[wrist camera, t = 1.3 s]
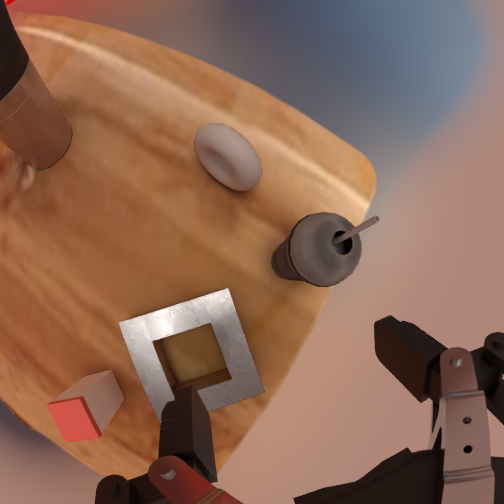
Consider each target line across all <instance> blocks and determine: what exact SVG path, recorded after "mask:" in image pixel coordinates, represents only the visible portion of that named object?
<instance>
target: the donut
mask: <svg viewBox="0 0 504 504" xmlns="http://www.w3.org/2000/svg"><path fill="white" fill-rule="evenodd" d="M194 148H195V152H196V154H197V156H198V158H199V160H200V162H201V163H202V165H203V166H204V167H205V168H206V170H207V171H208V172H209V173H210V174H211V175H212V176H213V177H214V178H215V179H217V180H218V181H219V182H221V183H222V184H224V185H226V186H227V187H229V188H231V189H234V190H237V191H248V190H251V189H252V188H254V187H255V186H256V185H257V184H258V183H259V182H260V180H261V175H262V165H261V161H260V158H259V156H258V154H257V152H256V150H255V149H254V148H253V146H252V145H251V144H250V142H249V141H248V140H247V139H246V138H245V137H243V136H242V135H241V134H240V133H239V132H237V131H236V130H234V129H233V128H231V127H229V126H226V125H224V124H220V123H209V124H207V125H205V126H203V127H201V128H200V129H199V130H198V131H197V133H196V135H195V138H194Z"/></svg>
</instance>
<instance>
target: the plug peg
mask: <svg viewBox="0 0 504 504" xmlns="http://www.w3.org/2000/svg"><path fill="white" fill-rule="evenodd" d="M123 401H124V397H123V394H122V392H121V390H120V388H119V385H118V383H117V381H116V378H115V376H114V373H113V371H112V370H108V371H104V372H100V373H96V374H92V375H87V376H85V377H83V378H82V379H81V380H79V381H78V382H77V383H75V384H74V385H73V386H71V387H70V388H69V389H67V390H66V391H65V392H63V393H62V394H61V395H59V396H58V397H57V398H55V399H54V400H53V401H51V402H50V403H49V404H47V406H48V408H49V410H50V412H51V415H52V417H53V419H54V421H55V423H56V425H57V426H58V428H59V430H60V432H61V434H62V436H63V438H64V439H65V441H66V442H73V441H82V440H89V439H97V438H100V436H101V435H102V433H103V432H104V430H105V429H106V427H107V425H108V424H109V422H110V421H111V419H112V418H113V416H114V415H115V413H116V411H117V410H118V408H119V407H120V405H121V404H122V402H123Z"/></svg>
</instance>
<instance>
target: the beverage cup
mask: <svg viewBox="0 0 504 504" xmlns="http://www.w3.org/2000/svg"><path fill="white" fill-rule="evenodd" d="M379 220H380V219H379V217H378V216H376V215H375V216H374V217H372V218H370V219H369V220H367V221H365V222H363V223H362V224H360V225H358V226H356V227H354V225H352V224H351V223H350V222H349V221H348V220H347V219H346V218H344V217H342V216H340V215H338V214H335V213H327V212H322V213H316V214H311V215H307V216H306V217H304V218H303V219H301V220H300V221H298V223H297V224H296V225H295V227H294V228H293V229H292V231H291V234H290V236H289V237H288V238H287V239H286V240H285V241H284V242H283V243H282V244H281V245H280V246H279V247H278V248H277V249H276V251H275V252H274V253H273V256H272V263H271V264H272V267H273V270H274V271H275V273H276V274H277V275H278V276H280V277H282V278H285V279H288V280H297V281H306V282H307V283H309V284H312V285H314V286H317V287H329V286H332V285H335V284H338V283H339V282H341V281H343V280H344V279H346V278H347V277H348V276H349V275H351V274H352V273H353V271H354V269H355V268H356V266H357V265H358V263H359V260H360V256H361V240H360V237H359V232H360V231H362V230H364V229H366V228H368V227H370V226H371V225H373V224H375V223H377V222H378V221H379Z"/></svg>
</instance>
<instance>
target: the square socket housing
mask: <svg viewBox="0 0 504 504" xmlns="http://www.w3.org/2000/svg"><path fill="white" fill-rule="evenodd" d="M208 323H211V325H212V328H213V331H214V333H215V336H216V339H217V342H218V344H219V347H220V350H221V353H222V355H223V358H224V361H225V363H226V366H227V369H224V370H221V371H218V372H215V373H212V374H209V375H206V376H203V377H199V378H196V379H193V380H190V381H187V382H183V383H180V384H177V383H176V381H175V378H174V376H173V374H172V371H171V369H170V366H169V364H168V361H167V359H166V356H165V353H164V351H163V348H162V345H161V343H160V340H159V339H161V338H164V337H167V336H170V335H174V334H177V333H180V332H183V331H186V330H189V329H193V328H196V327H199V326H202V325H205V324H208ZM119 325H120V328H121V331H122V334H123V337H124V339H125V342H126V345H127V348H128V350H129V353H130V356H131V358H132V361H133V363H134V366H135V368H136V371H137V373H138V376H139V378H140V380H141V383H142V385H143V387H144V390H145V392H146V394H147V396H148V399H149V401H150V403H151V405H152V407H153V409H154V411H155V413H156V416H157V418H158V420H159V422H160V424H161V415H162V410H163V408H164V407H165V405H166V403H167V402H169V401H174V400H175V389H176V388H178V387H182V386H186V385H191V384H193V385H194V386H195V388H196V390H197V392H198V393H199V395H200V397H201V399H202V401H203V403H204V405H205V407H206V409H207V411H208V412H210V411H213V410H216V409H219V408H222V407H225V406H228V405H231V404H234V403H237V402H240V401H242V400H245V399H248V398H251V397H253V396H256V395H259V394H261V393H264V392H265V390H264V388H263V385H262V382H261V380H260V377H259V374H258V372H257V369H256V366H255V363H254V361H253V358H252V355H251V352H250V350H249V347H248V344H247V341H246V338H245V336H244V333H243V330H242V327H241V324H240V321H239V318H238V316H237V313H236V310H235V307H234V304H233V301H232V298H231V295H230V292H229V289H228V288H225V289H221V290H218V291H215V292H212V293H209V294H206V295H203V296H200V297H197V298H194V299H191V300H187V301H184V302H181V303H178V304H175V305H172V306H169V307H166V308H162V309H159V310H156V311H153V312H150V313H146V314H143V315H140V316H137V317H133V318H130V319H127V320H125V321H122V322H119Z"/></svg>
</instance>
